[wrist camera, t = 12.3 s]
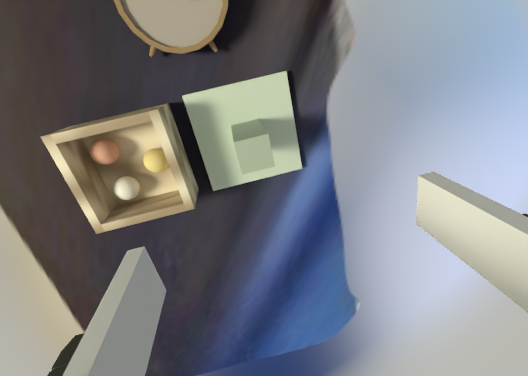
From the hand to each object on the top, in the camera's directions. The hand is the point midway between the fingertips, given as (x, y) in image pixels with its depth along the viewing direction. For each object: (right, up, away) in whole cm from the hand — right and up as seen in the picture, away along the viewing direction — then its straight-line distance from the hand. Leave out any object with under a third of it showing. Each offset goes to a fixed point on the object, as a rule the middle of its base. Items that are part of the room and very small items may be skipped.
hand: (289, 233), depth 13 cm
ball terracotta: (-20, +7, +20) cm, 30 cm away
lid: (-4, +10, +23) cm, 26 cm away
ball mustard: (-15, +6, +22) cm, 27 cm away
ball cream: (-19, +3, +22) cm, 29 cm away
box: (-18, +6, +22) cm, 29 cm away
